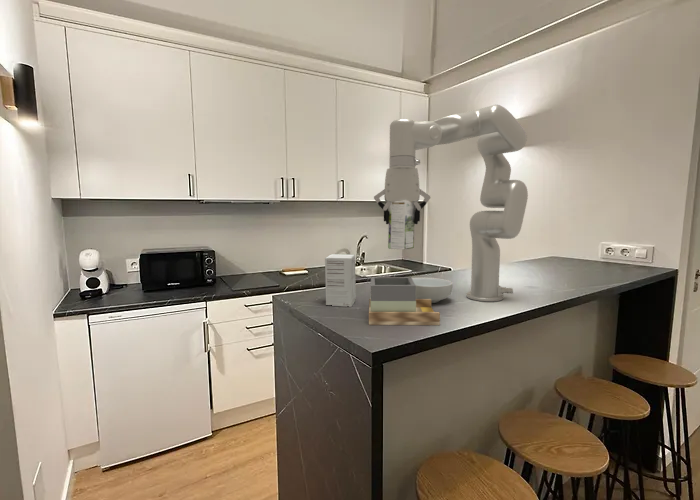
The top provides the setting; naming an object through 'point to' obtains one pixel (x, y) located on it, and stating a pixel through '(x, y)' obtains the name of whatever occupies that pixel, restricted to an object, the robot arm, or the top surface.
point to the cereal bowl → (432, 288)
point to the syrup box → (401, 225)
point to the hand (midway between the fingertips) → (401, 223)
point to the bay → (407, 315)
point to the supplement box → (340, 279)
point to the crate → (393, 294)
